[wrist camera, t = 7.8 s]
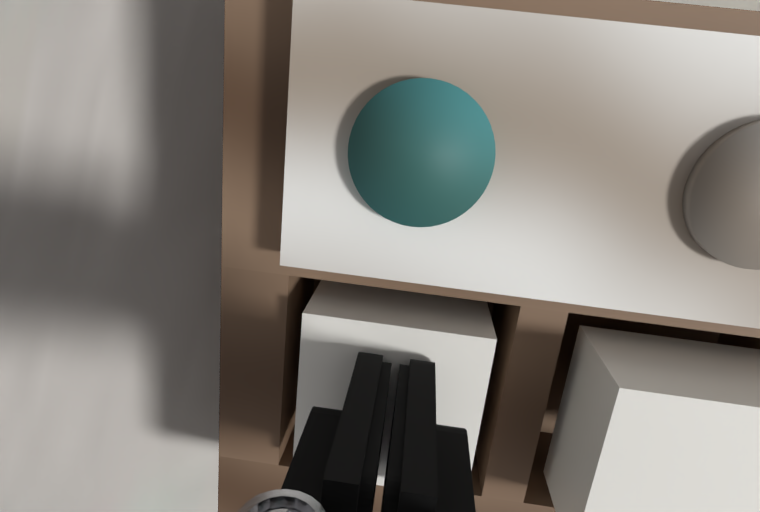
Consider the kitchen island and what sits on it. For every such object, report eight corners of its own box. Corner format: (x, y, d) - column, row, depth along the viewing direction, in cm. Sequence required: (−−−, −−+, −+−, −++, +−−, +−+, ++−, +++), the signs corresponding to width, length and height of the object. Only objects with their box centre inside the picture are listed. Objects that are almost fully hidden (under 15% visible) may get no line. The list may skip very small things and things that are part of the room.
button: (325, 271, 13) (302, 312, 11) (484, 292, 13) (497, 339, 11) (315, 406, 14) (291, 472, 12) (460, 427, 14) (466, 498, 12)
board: (283, -5, 13) (199, -59, 9) (1119, 82, 12) (1569, 76, 7) (263, 451, 18) (200, 587, 13) (880, 544, 17) (1066, 732, 12)
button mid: (579, 325, 12) (619, 388, 9) (763, 349, 11) (855, 420, 9) (543, 471, 13) (570, 561, 10) (709, 496, 13) (776, 594, 10)
